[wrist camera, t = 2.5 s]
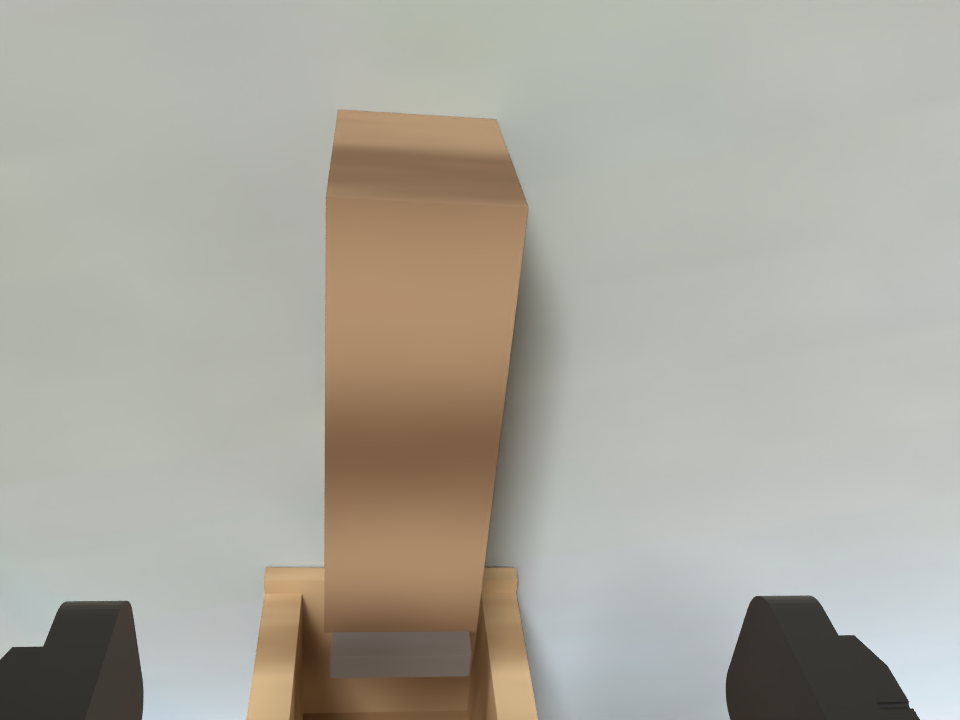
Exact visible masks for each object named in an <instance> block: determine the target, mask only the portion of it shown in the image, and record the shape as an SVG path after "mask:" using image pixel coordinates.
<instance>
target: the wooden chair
mask: <svg viewBox="0 0 960 720" xmlns="http://www.w3.org/2000/svg"><path fill="white" fill-rule="evenodd" d="M517 584H518V577H517V571H516V568H484V573H483V581H482V590H481V598H480V606H479V614H478V622H477V630H476V631H469V637H470V646H471V663H470V671H469V676H449V677H378V678H330V661H331V640H332V633H324V568H313V567H266V572H265V579H264V588H265V596H264V602H263V609H262V616H261V623H260V630H259V637H258V644H257V650H256V657H255V664H254V671H253V678H252V685H251V692H250V698H249V705H248V712H247V719H246V720H538V716H537V711H536V705H535V699H534V693H533V687H532V682H531V676H530V670H529V664H528V659H527V653H526V647H525V641H524V635H523V630H522V624H521V618H520V612H519V606H518V601H517V595H516V591H517Z"/></svg>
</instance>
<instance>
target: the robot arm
mask: <svg viewBox="0 0 960 720" xmlns="http://www.w3.org/2000/svg"><path fill="white" fill-rule="evenodd" d="M726 700H727V707H728V712H729V716H730V719H731V720H920V719H919V717H918V716H917V714H916V712H915V711H914V709H910V708H909V701H908V699H907V698H906V696H905V694H904V693H903V691H902V689H901V688H900V686H899V684H898V683H897V681H896V679H895V678H894V676H893V674H892V673H891V671H890V669H889V668H888V666H887V665H886V664H885V663H884V662H883V661H882V660H880V659H879V658H878V657H877V656H876V655H875V654H874V653H873V652H872V651H871V650H870V649H868V648H867V647H866V646H865V645H864V644H863V643H862V642H861V641H860V640H859V639H858V638H857V637H855V636H854V635H845V636H838V634H837V632H836V630H835V628H834V627H833V625H832V623H831V621H830V620H829V618H828V616H827V614H826V613H825V611H824V609H823V607H822V606H821V604H820V603H819V602H818V600H817V599H815V598H814V597H812V596H756V597H754V598H753V599H752V600H751V602H750V604H749V607H748V609H747V613H746V616H745V619H744V622H743V625H742V628H741V631H740V635H739V638H738V641H737V644H736V647H735V650H734V653H733V657H732V660H731V663H730V666H729V669H728V673H727V678H726ZM142 713H143V680H142V673H141V666H140V660H139V653H138V646H137V639H136V632H135V625H134V618H133V612H132V607H131V604H130V603H129V602H128V601H73V602H64V603H63V604H62V605H61V606H60V608H59V609H58V611H57V614H56V616H55V619H54V621H53V624H52V626H51V629H50V631H49V634H48V636H47V639H46V641H45V644H44V646H43V647H12V648H11V649H10V650H9V651H8V652H7V653H6V654H5V655H4V657H3V658H2V659H1V660H0V720H142Z"/></svg>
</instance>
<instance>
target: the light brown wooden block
mask: <svg viewBox="0 0 960 720" xmlns="http://www.w3.org/2000/svg"><path fill="white" fill-rule="evenodd" d="M527 215H528V204H527V202H526V199H525V196H524V193H523V191H522V188H521V185H520V183H519V180H518V177H517V174H516V172H515V169H514V166H513V164H512V161H511V158H510V155H509V153H508V150H507V147H506V145H505V142H504V139H503V136H502V134H501V131H500V128H499V126H498V123H497V120H496V119H480V118H464V117H448V116H432V115H416V114H400V113H384V112H367V111H351V110H338V114H337V121H336V128H335V135H334V142H333V150H332V157H331V164H330V171H329V178H328V186H327V193H326V305H325V556H324V633H332V640H331V661H330V678H378V677H449V676H469V671H470V663H471V646H470V637H469V631H476V630H477V622H478V614H479V606H480V598H481V590H482V581H483V573H484V565H485V557H486V549H487V541H488V533H489V525H490V516H491V508H492V500H493V492H494V484H495V476H496V468H497V459H498V451H499V443H500V435H501V427H502V419H503V411H504V402H505V394H506V386H507V378H508V370H509V362H510V354H511V345H512V337H513V329H514V321H515V313H516V305H517V297H518V289H519V280H520V272H521V264H522V256H523V248H524V240H525V232H526V223H527Z"/></svg>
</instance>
